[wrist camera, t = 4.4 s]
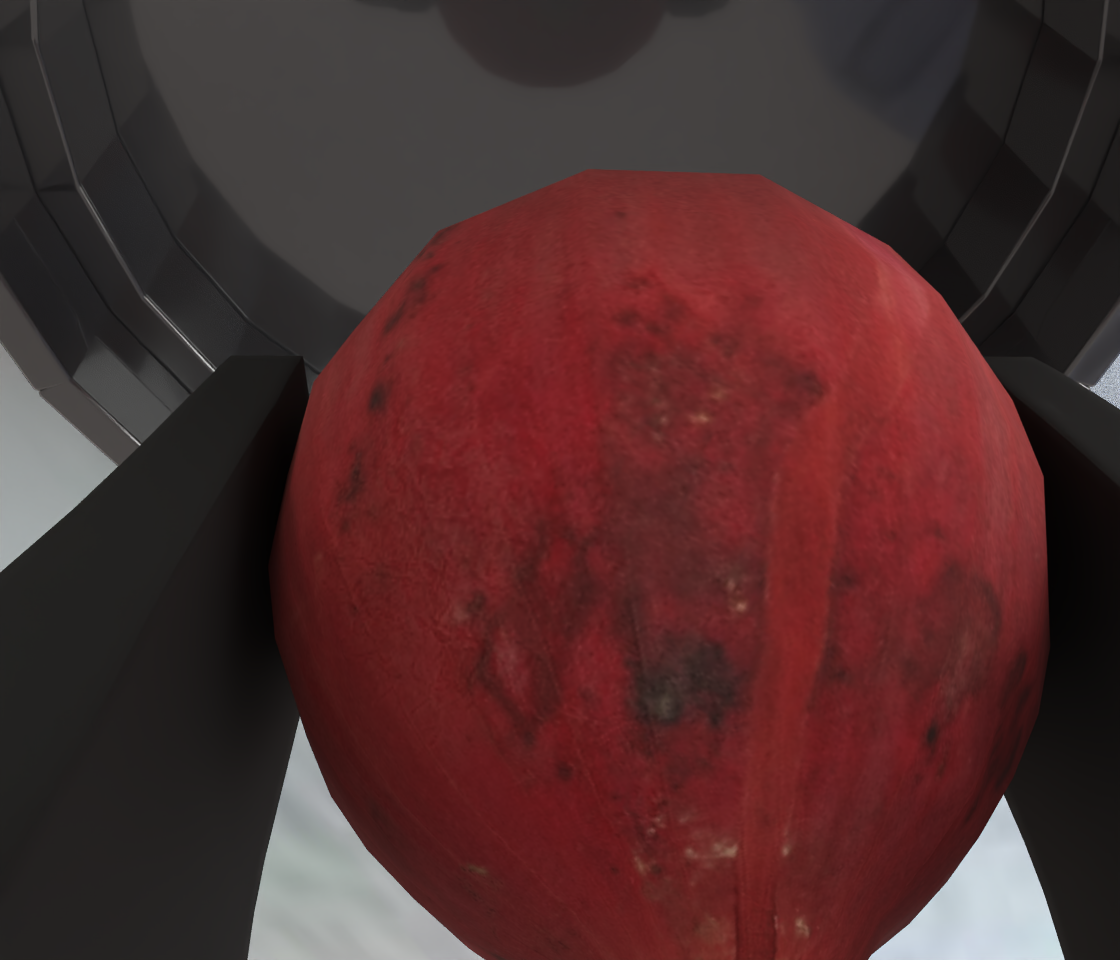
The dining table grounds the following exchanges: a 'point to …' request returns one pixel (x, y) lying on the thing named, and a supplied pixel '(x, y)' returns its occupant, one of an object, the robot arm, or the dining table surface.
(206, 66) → the pan
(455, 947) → the dining table surface
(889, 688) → the onion
